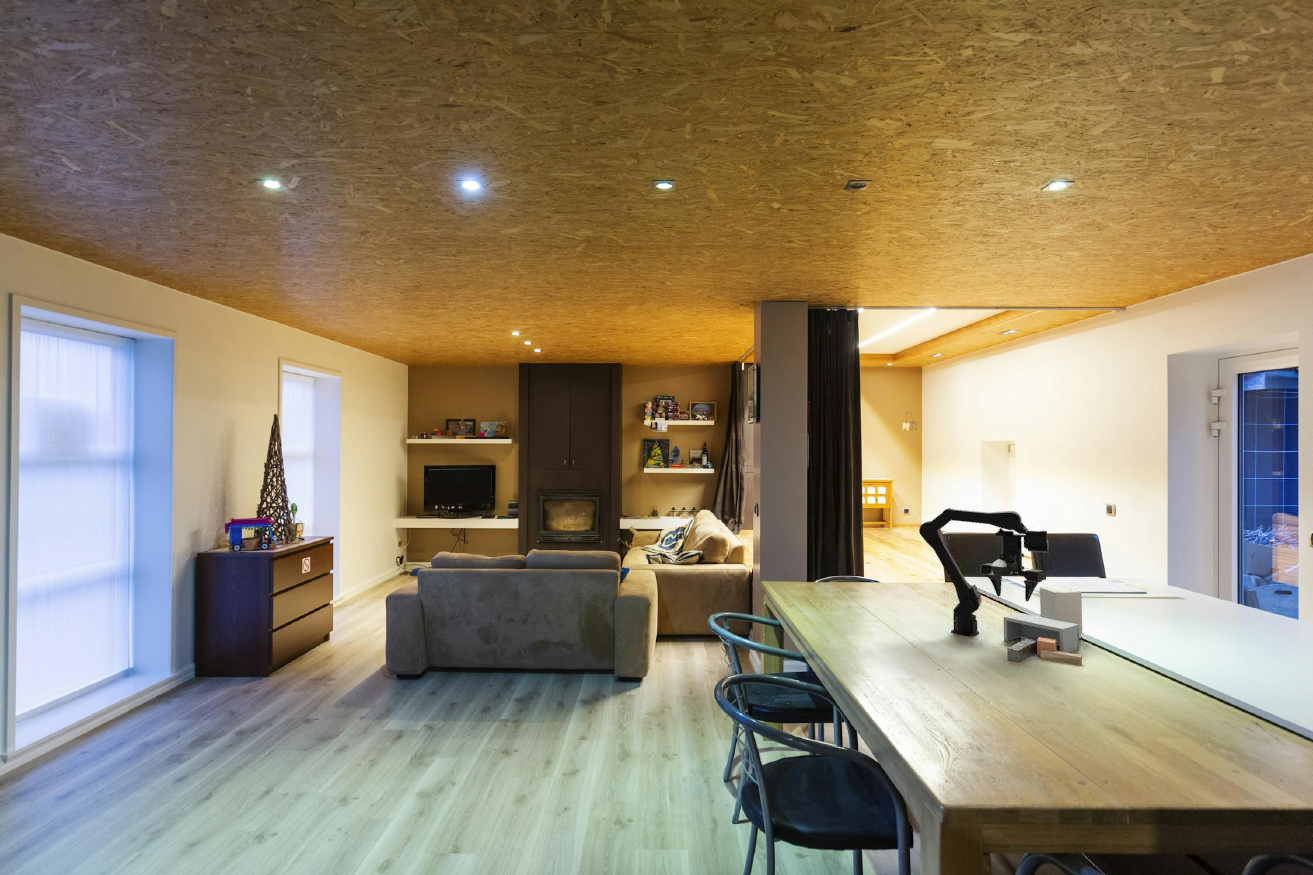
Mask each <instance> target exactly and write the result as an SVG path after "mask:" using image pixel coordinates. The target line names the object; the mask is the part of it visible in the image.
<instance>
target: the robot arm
mask: <svg viewBox="0 0 1313 875" xmlns="http://www.w3.org/2000/svg"><path fill="white" fill-rule="evenodd" d="M952 521H954V522H955V521H956V522H966V523H975V524H985V525H990V526H993V527H997V528H999V530H998V531H996V532H995V533H994V535H995V536H996V537H1001V552H999V555H998V559H996V560H995V561H994V562H992V563H983V564H981V565H980V567H979V568H980V569H979V570H980V571H979V573H980V574H983V575H984V577H987V578H988V579H989V581H990V582H991V584H992V586H993V588H994V592H995V593H996V595H997V597H1001V595H1002V594H1001V593H1002V580H1003V577H1007V576H1018V577H1023V578H1024V579H1025V580H1023V583H1024V585H1025V594H1024V595H1025V596H1024V599H1025V602H1029V601H1030V599H1031V597H1032V595H1033V594H1034V591H1035V589H1036V587H1037V585H1038V584H1039V583H1041V582H1043V581H1046V580H1047V573H1046V572H1045V570H1041V569H1036V568H1035V569H1033V568H1032V569H1026V570H1025V566H1024V565H1023V558H1024V557H1025V553H1024V552H1023V550H1022V547H1023V548H1024V549H1027V552H1032V553H1033V552H1034V553H1046V554H1047V553H1049V540H1048V531H1047V530H1029V529H1028V528H1027V526H1026V525H1024V523H1023V522H1022V521H1023V520H1022V517H1021V515H1020V514H1019V513H1018V511H1014V510H1003V511H1002V510H1001V511H995V512H994V511H993V512H992V511H991V512H986V511H977V510H966V509H956V508H952V507H949V508H946V509H944V510H943V511H942V512H941V513H940V514H939V515H937V516H936V517H935V518H933V519H932V520H928V521H925V522H924V523H922V524H921V525H920V526H919V530H918V531H919V532H918V533H919V535H920V536H921V538H923V540H924V541H925V542H926V543H927V545H929V546H930V548H932V550H933V551H934V553H935V554H936V557H938V559H939V561H940V563H941V565H942V567H943V569H944V570H945V572H946V574H947V575H948V577H949V579H950V581H951V583H952V584H953V586H954V588H955V593H956V596H957V600H958V603H957V604H956V605H955V607H954V608H953V613H952V614H953V629H951V630H950V632H951V633H955V634H958V635H962V636H966V637H970V636H973V635H978V634H980V631H979V630H978V620H977V615H975V614H974V613H975V612H977V611H978V610H979V608H980V607H981V605H982V602H983V601H982V598H981V597H982V596H983V595H982V594H981V593H980V592H979V590H978V587H977V585H976V584H973V585H972V586H971V584H970V583H969V582H968V581H967V580H966V578H965V576H964V575H963V573H962V571H961V569H960V567H959V565H958V564H957V562H956V560H955V559H954V557H953V555H952V554H951V552H950V550H949V548H948V546H947V545H946V543H945V538H944V534H943V532H942V530H941V529H942V528H943V527H945V526H946V525H947V524H949V523H950V522H952ZM1004 529H1005V530H1004ZM1015 532H1016V533H1015ZM1022 538H1023V540H1022ZM1022 541H1023V544H1022ZM1022 545H1023V546H1022Z"/></svg>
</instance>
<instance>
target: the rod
mask: <svg viewBox="0 0 1313 875" xmlns="http://www.w3.org/2000/svg"><path fill="white" fill-rule="evenodd" d="M1040 652H1041V656H1040V659H1043V660H1049V661H1050V660H1051V661H1055V662H1062V663H1068V664H1074V665H1079V666H1080V665H1082V663H1083V654H1078V653H1074V652H1073V653H1072V652H1069V653H1067V652H1060V650H1059V651H1058V650H1057V651H1054V650H1047V649H1041V651H1040Z"/></svg>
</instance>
